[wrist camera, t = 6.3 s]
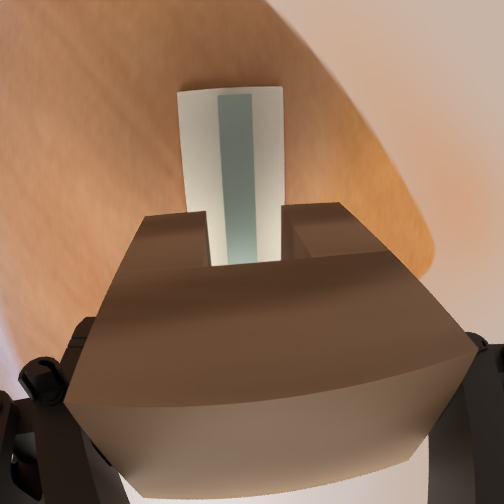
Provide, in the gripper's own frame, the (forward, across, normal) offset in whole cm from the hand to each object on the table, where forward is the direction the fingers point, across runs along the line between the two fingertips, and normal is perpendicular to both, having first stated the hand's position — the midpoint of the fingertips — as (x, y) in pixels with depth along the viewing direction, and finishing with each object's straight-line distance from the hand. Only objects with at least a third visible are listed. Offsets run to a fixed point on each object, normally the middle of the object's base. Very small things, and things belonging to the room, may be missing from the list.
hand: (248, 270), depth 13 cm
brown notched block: (+1, 0, 0) cm, 1 cm away
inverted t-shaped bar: (+8, 0, 0) cm, 8 cm away
